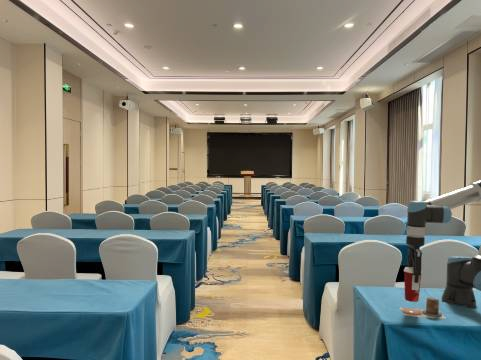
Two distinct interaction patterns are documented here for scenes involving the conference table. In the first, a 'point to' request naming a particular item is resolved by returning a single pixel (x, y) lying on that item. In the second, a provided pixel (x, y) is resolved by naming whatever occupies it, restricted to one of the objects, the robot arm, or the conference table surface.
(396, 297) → the conference table surface
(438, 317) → the board
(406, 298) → the paper cup
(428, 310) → the brown short cylinder
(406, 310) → the terracotta pad
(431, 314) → the grey pad
